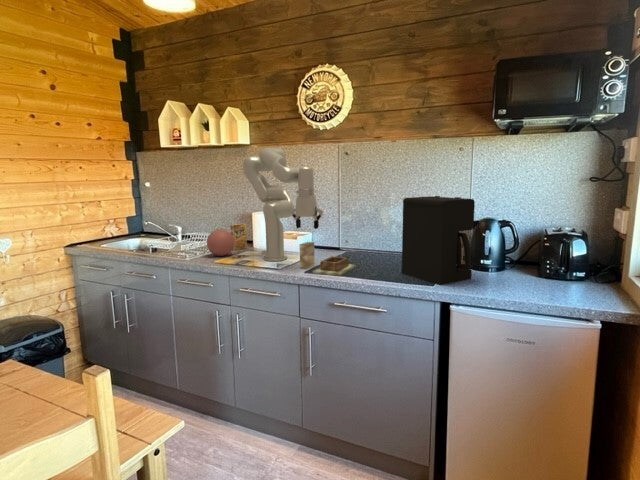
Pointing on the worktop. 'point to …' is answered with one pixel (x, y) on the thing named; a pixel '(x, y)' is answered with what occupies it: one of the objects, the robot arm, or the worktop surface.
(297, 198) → the robot arm
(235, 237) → the candy box
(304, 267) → the tan mottled block
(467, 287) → the worktop surface
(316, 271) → the brown open box
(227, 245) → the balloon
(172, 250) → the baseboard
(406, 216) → the coffee maker
